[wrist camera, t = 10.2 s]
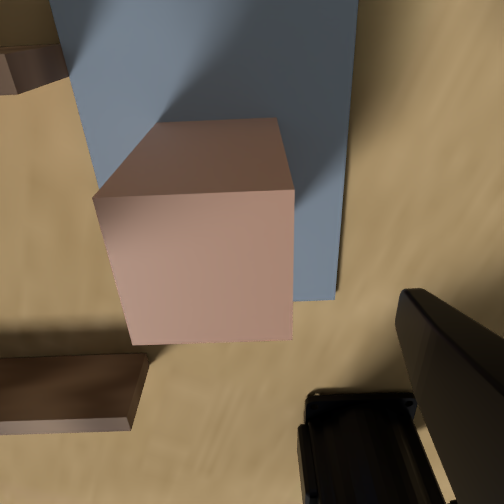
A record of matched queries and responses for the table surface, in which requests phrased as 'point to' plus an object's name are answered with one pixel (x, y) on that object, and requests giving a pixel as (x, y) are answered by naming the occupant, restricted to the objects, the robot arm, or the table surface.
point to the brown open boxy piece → (62, 367)
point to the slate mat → (224, 91)
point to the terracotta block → (203, 233)
